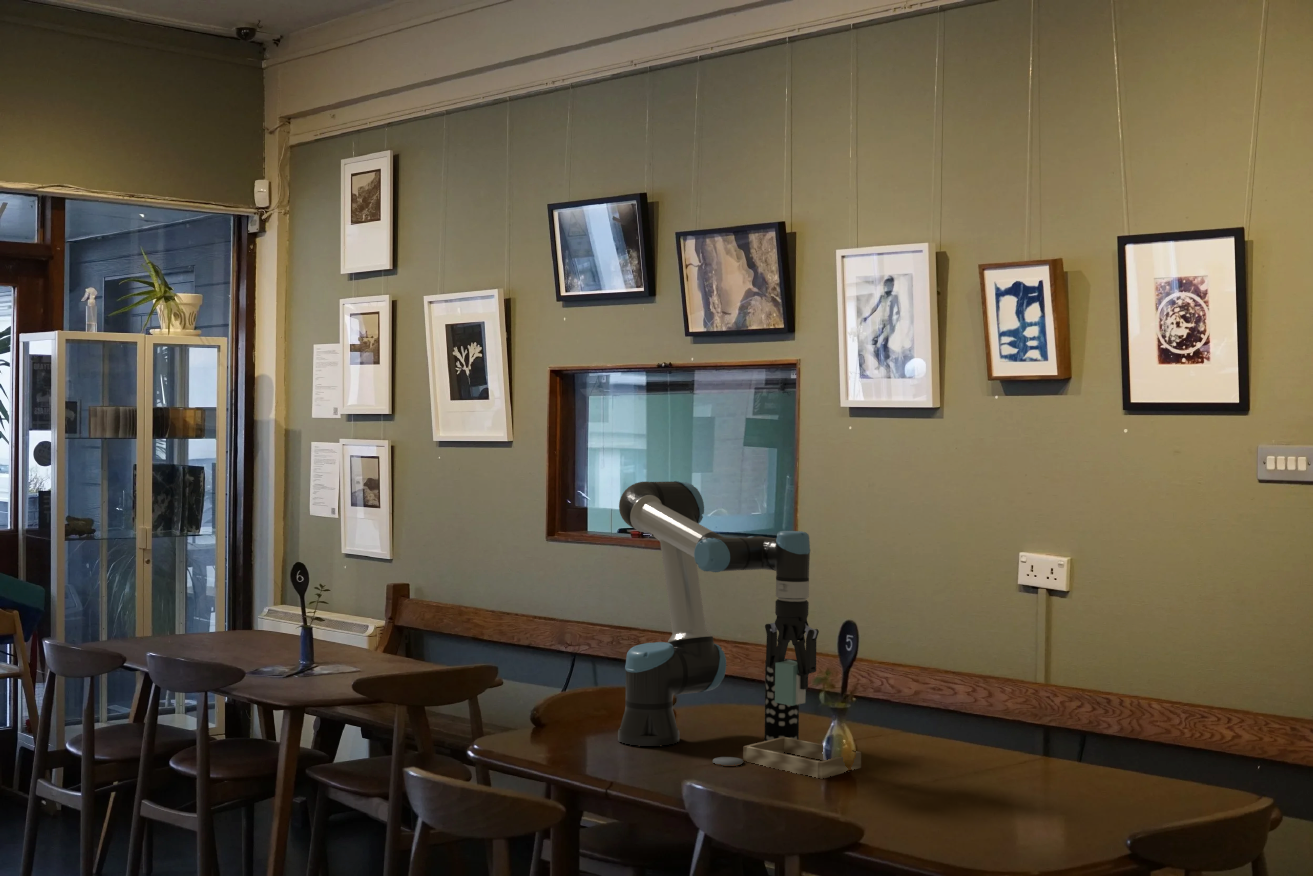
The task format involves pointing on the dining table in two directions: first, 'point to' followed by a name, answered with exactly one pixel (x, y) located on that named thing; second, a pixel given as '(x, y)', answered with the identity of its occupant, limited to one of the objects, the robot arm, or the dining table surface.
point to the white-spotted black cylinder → (779, 712)
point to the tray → (773, 757)
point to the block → (786, 682)
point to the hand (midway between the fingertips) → (790, 701)
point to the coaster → (727, 761)
